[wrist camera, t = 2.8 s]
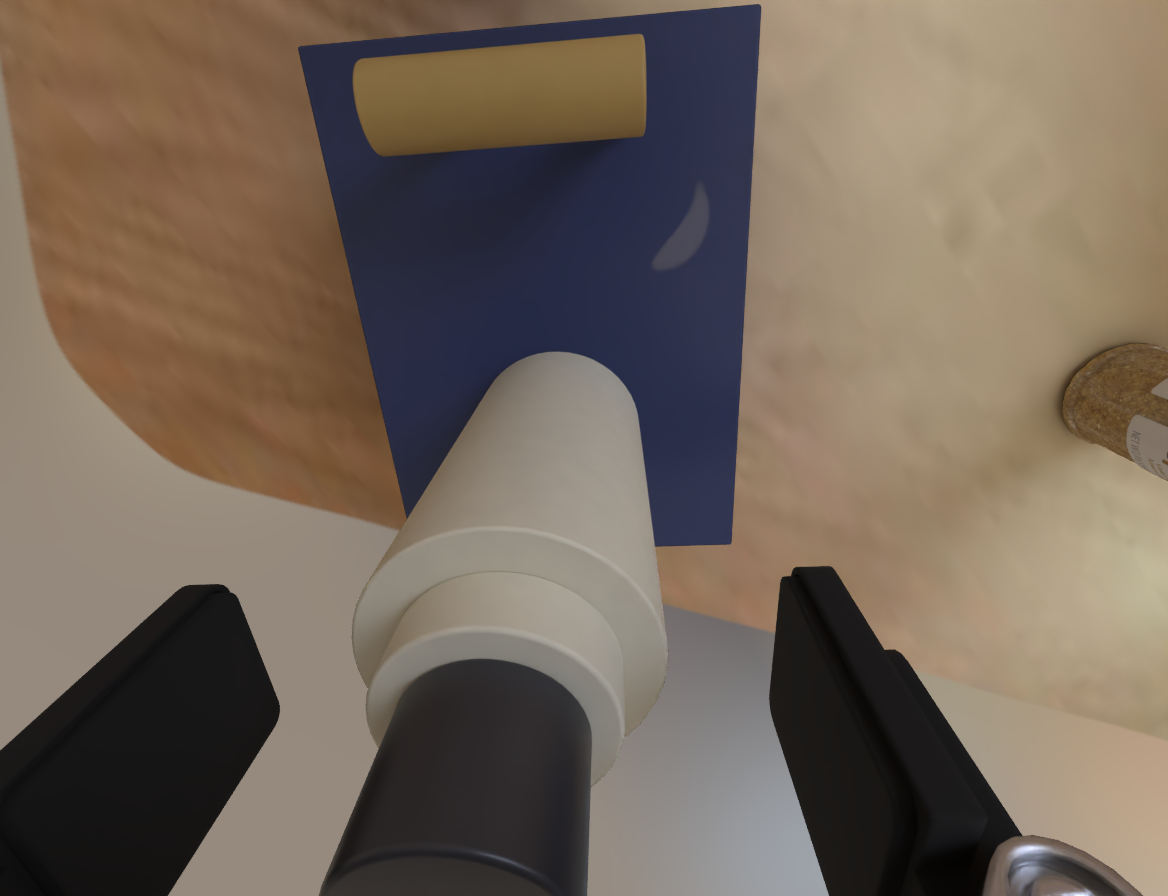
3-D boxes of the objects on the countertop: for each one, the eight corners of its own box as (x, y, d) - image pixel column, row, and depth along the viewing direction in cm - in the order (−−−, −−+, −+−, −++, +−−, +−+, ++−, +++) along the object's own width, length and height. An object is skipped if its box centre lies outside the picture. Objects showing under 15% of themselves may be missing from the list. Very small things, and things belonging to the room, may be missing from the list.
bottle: (458, 371, 17) (88, 802, 5) (620, 333, 16) (650, 729, 4) (506, 510, 19) (327, 1057, 7) (652, 483, 18) (735, 1036, 6)
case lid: (312, 53, 14) (153, -22, 9) (753, 12, 13) (837, -92, 8) (421, 541, 20) (361, 652, 15) (727, 532, 20) (766, 645, 15)
